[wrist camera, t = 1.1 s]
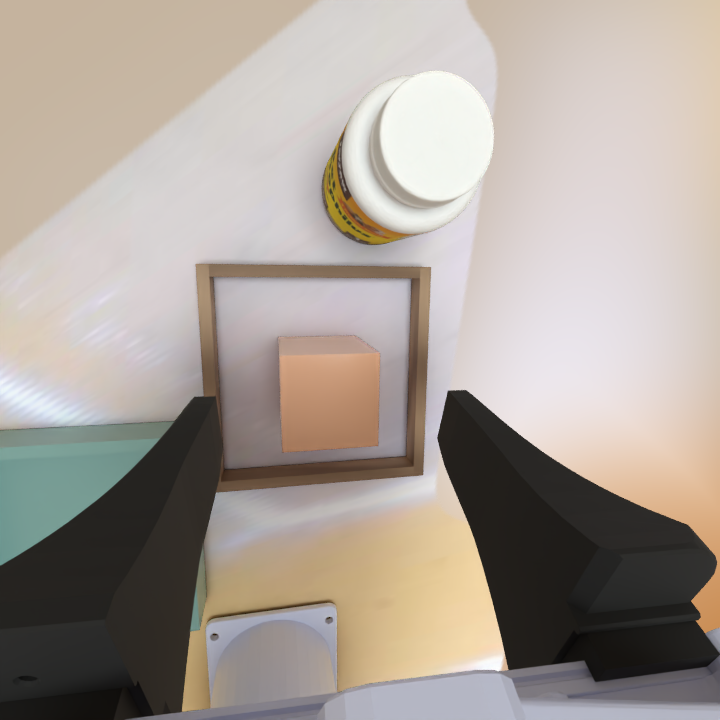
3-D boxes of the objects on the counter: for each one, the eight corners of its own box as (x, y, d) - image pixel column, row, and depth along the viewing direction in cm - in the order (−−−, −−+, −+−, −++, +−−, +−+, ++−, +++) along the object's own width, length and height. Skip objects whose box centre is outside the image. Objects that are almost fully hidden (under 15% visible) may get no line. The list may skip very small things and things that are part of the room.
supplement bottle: (302, 165, 23) (324, 79, 13) (394, 123, 23) (484, 9, 13) (346, 263, 24) (397, 254, 14) (433, 221, 25) (540, 184, 15)
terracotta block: (354, 408, 26) (378, 445, 20) (280, 412, 25) (282, 452, 19) (355, 335, 25) (379, 353, 19) (278, 336, 24) (279, 355, 18)
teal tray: (206, 596, 26) (199, 629, 24) (-4, 622, 24) (-37, 663, 22) (194, 420, 24) (185, 436, 22) (-37, 432, 22) (-77, 452, 19)
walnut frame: (415, 464, 27) (423, 475, 26) (213, 480, 25) (210, 493, 23) (421, 267, 25) (430, 267, 24) (200, 264, 23) (195, 263, 21)
